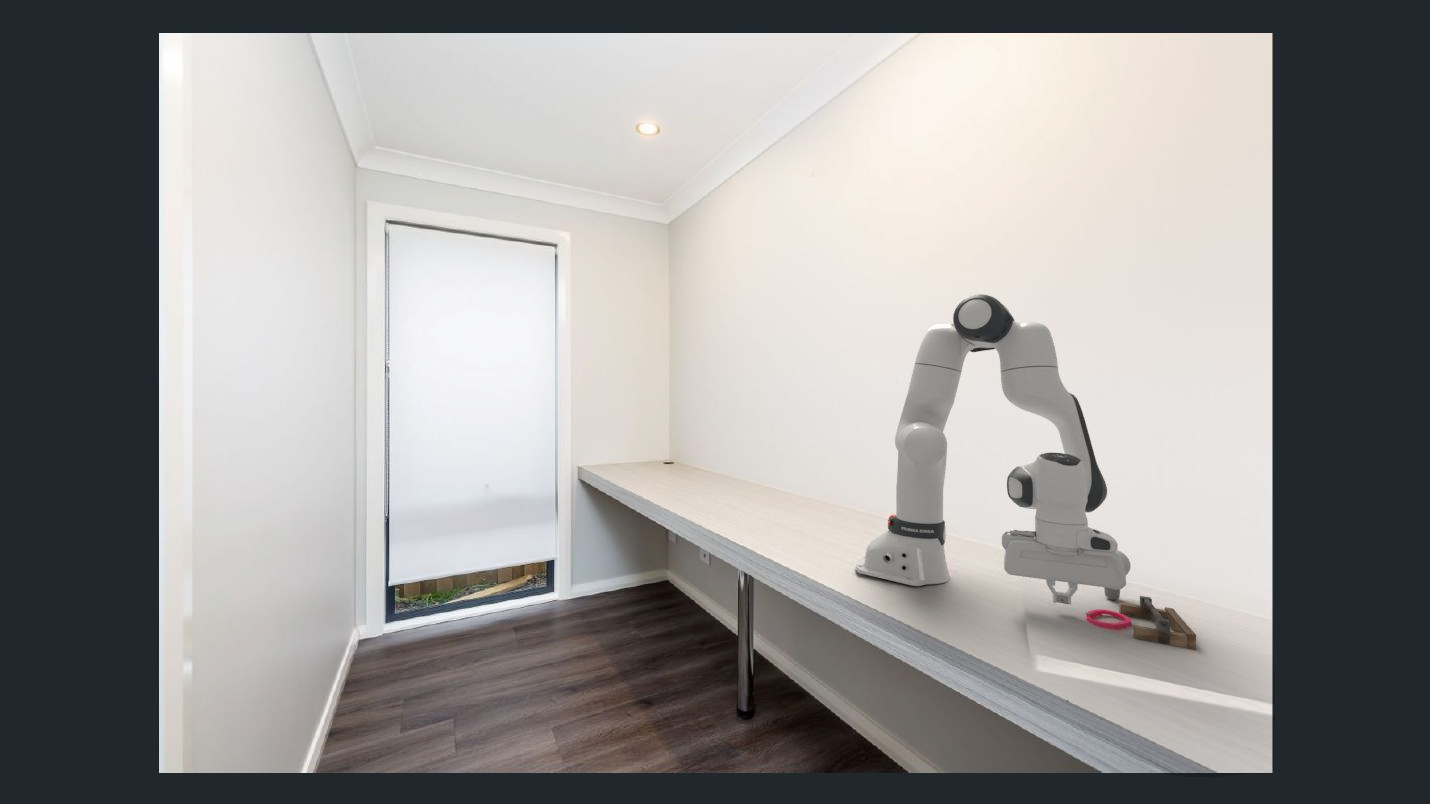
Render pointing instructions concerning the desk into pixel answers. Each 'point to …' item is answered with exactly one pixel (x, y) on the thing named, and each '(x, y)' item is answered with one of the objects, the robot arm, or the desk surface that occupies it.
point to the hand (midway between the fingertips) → (1061, 602)
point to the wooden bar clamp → (1160, 624)
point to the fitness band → (1115, 626)
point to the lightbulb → (1115, 593)
